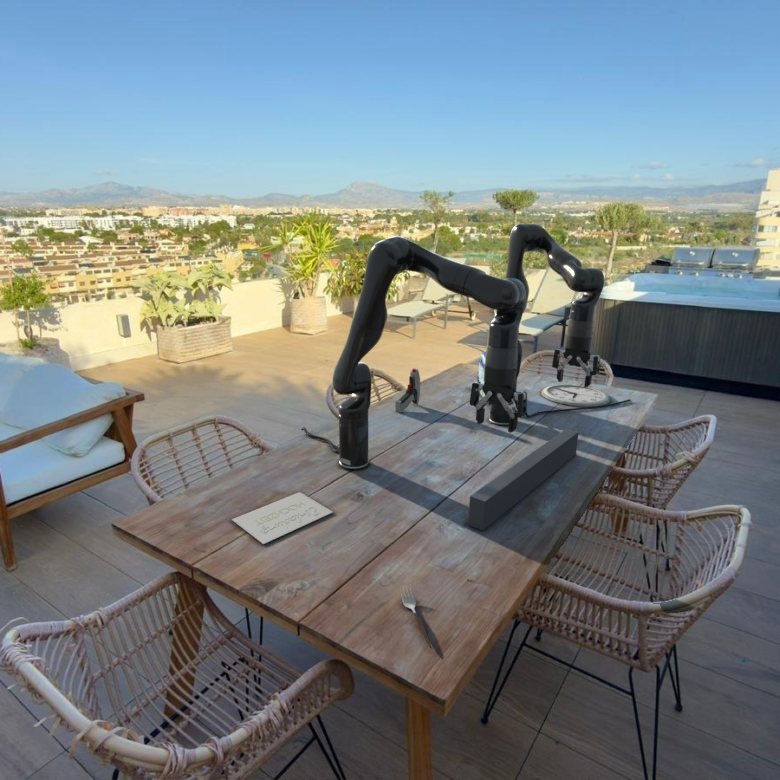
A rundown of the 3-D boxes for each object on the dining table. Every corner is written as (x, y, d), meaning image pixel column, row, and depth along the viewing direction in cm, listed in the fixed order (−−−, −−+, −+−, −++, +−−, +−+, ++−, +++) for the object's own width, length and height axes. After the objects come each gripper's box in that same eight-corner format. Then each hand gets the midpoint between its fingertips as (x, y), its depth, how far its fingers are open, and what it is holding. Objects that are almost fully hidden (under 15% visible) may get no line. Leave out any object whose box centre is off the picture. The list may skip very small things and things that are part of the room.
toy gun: (394, 376, 210) (415, 366, 221) (395, 413, 216) (416, 402, 227) (399, 377, 209) (420, 367, 220) (400, 414, 215) (420, 403, 226)
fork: (423, 651, 94) (424, 642, 93) (398, 593, 109) (398, 585, 108) (437, 648, 95) (437, 639, 94) (410, 591, 109) (411, 583, 109)
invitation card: (299, 491, 149) (333, 511, 139) (299, 492, 149) (333, 512, 139) (231, 519, 134) (263, 543, 124) (231, 520, 134) (263, 544, 124)
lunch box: (475, 390, 246) (478, 346, 240) (498, 390, 246) (501, 347, 240) (484, 408, 221) (487, 360, 215) (509, 409, 221) (513, 360, 215)
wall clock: (623, 402, 226) (556, 403, 224) (623, 406, 227) (556, 407, 224) (592, 383, 255) (532, 383, 252) (591, 386, 255) (532, 386, 253)
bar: (563, 451, 180) (566, 428, 178) (575, 454, 178) (578, 431, 175) (467, 524, 135) (469, 495, 132) (482, 531, 132) (485, 501, 129)
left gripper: (466, 361, 126) (462, 424, 131) (521, 372, 118) (514, 439, 122) (482, 356, 132) (478, 416, 137) (535, 366, 123) (529, 430, 128)
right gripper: (552, 332, 164) (547, 382, 168) (598, 339, 155) (591, 391, 160) (562, 329, 169) (556, 377, 174) (607, 335, 160) (599, 386, 165)
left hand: (495, 427), depth 129 cm, fingers open, 8 cm apart
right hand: (573, 384), depth 167 cm, fingers open, 8 cm apart
